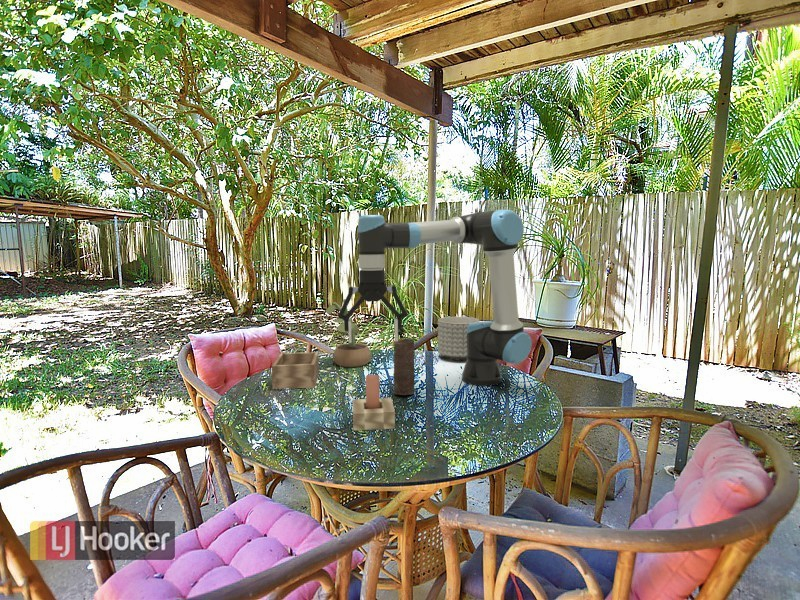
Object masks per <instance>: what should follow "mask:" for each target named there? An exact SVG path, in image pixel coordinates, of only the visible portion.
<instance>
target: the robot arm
mask: <svg viewBox="0 0 800 600" xmlns="http://www.w3.org/2000/svg"><path fill="white" fill-rule="evenodd" d="M357 224H358V225H357V233H358V234H357V236H358V239H357V240H358V268H359V269H360V270H359V272H358V280H359V284H358V286H352V285H349V287H348V292H347V295H346V297H345V299H346V300H345V302H344V304H343V303H342V305H341V310H340V311H339V313H338V314H337V319H338V318H340V319H343V320H344V322H343V323H344V326H345V331H347V332H348V331H349V336H348V341H349V342H348V343H352V339H351V319H350V318H352V316H353V315H354V313H355V312H356V311H357V310H358V308H359V307H360V306H361V305H362V304H363V302H368V303H369V302H379V301H381V302H383V304H385V306H386V307H387V308H388V309H389V310H390V311H391V313H393V315H394V316H395V317H394V318H393V319H394V320H393V321H394V324H393V325H394V328H393V329H394V342H395V341H398V339H399V330H402V319H403V318H406V317H408V312H407V311H406V309H405V307H404V305H403V302H402V301H401V299H400V297H399V295H398V292H397V286H396V285H395V284H393V285H389V286H387V285H386V271H385V270H384V268H386V255H385V253H386V252H385V251H386V249H415V248H417V247H418V246H419V245H425V244H426V245H427V244H437V243H448V242H452V243H453V244H472V245H479V246H480V245H482V251H483V253H484V254H486V256H487V259H488V268H489V280H490V289H491V290H490V291H491V292H490V293H491V304H492V315H493V321H489V320H487V321H486V320H485V321H479V322H474V323H470V324H469V325H468V327H467V359H466V361H465V365H464V367H463V370H462V374H461V380H462V382H464V383H466V384H468V385H473V386H480V387H481V386H484V387H486V386H495V385H498V384H500V383H501V382H502V374H501V369H500V367H499V364H498V363H499V362H498V361H503V362H505V363H507V364H513V365H517V364H521V363H522V362H524V361H525V360H526V359H527V358H528V356H529V355H530V352H531V350H532V346H533V343H532V342H533V341H532V338H531V336H530V335H529V333H527V332H525V331H524V328H525V327H524V323H523V322H521V321H520V319H519V311H518V310H519V309H518V297H517V294H518V293H517V287H516V285H517V284H516V270H515V260H514V259H515V256H514V254H515V252H516V251H517V249H518V248H519V247H518V243H519V242H521V240H522V237H523V235H524V228H525V227H524V223H523V220H522V218H521V217H520V216H519V215H518V213H516V212H515V211H513V210H511V209H497V210H496V209H495V210H489V211H478V212H473V213H470V214H465V215H459V216H453V217H452V218H451V219H444V220H443V219H441V220H429V221H416V222H386V220H385V217H384V216H383V215H381V214H365V215H360V216H359V218H358V221H357ZM387 291H388V292H389V293H390V294H392V296H393V298H394V300H395V302H396V305H397V306H398V308H399V311H400V312H401V313H400V312H399V311H398V310H397V309H396V308H395V307H394V305H392V303H391V302H390V301H389V300H388V299H387V298H386V297H385V294H386V293H387ZM356 292H358V293H359V295H360V297H359V298H358V300H357V301H356V302H355V303H354V304H353V306H352V307H351V308H350V309H349V310H348V313H347V314H346V315H344V312H345V310H346V308H347V309H348V306H349V304H350V301H351V300H352V297H353V295H355V294H356Z"/></svg>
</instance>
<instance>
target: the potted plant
mask: <svg viewBox="0 0 800 600" xmlns="http://www.w3.org/2000/svg"><path fill="white" fill-rule="evenodd" d="M342 300H343V302H342V305H343V304H344V302H345V300H346V298H343V299H342ZM341 308H342V306H341V305H339V304H338V303H337V302H336V301H332V305H330V306H329V307H327V308H326V309H325V314H326V313H327V314H328V315H331V314H332V313H334V312H335V310H336V309H338V311H339V312H340V310H341ZM348 312H349V310H348V307H347V308H346V310H345V312H344V315H346V314H347V313H348ZM349 319H351V339H352V343H349V340H348V343H342V344H338V345H337V346H336V347H335V349H334V352H333V356H332V358H333V362H334V363H335V364H336V365H337V366H339V367H343V368H357V367H363V366H366V365H367V364H368V363H370V360H371V359H372V354H371V350H370V349H369V345H367V344H365V343H359V342H356V335H357V334H358V331H359V326H358V325H357V324H356V323H354V321H353V319H352V317H350V318H349ZM333 322H334V323H337V324H339V323H340V324H339V325H338V326H337V330H338V331H339V332H341V333H347V335H348V337H349V331H345V326H344V320H343V319H340V318H338V317H337V318H336V319H334V320H333Z"/></svg>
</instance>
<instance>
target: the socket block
mask: <svg viewBox="0 0 800 600" xmlns="http://www.w3.org/2000/svg"><path fill="white" fill-rule="evenodd" d="M395 412H396V411H395V408H394V403H393V400H392V397H380V408H379V409H366V398H361V399H360V398H358V399H352V425H353V426H352V431H368V430H369V431H370V430H371V431H372V430H389V429H396V415H395V414H396V413H395Z"/></svg>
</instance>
